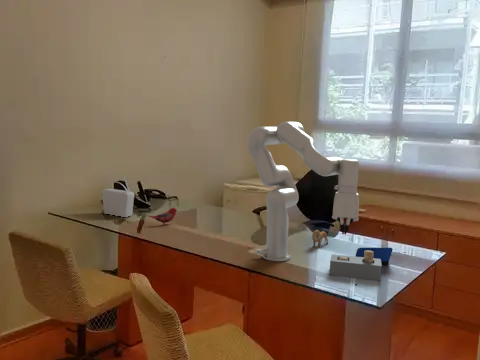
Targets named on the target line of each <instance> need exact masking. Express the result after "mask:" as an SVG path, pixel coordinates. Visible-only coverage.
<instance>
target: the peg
mask: <svg viewBox="0 0 480 360" xmlns="http://www.w3.org/2000/svg"><path fill="white" fill-rule="evenodd" d="M373 253H374V252H373V251H369V250H366V251H364V262H365V263H373Z"/></svg>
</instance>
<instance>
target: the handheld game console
mask: <svg viewBox="0 0 480 360" xmlns="http://www.w3.org/2000/svg"><path fill="white" fill-rule="evenodd" d="M356 249H357V250H356V253H355V257H364V251H366V250H369V251H373V252H374V253H373V258H376V259H381V265H382V266H388V265H389V263H390V259H391V256H392V253H393V250H394V249H393V247H358V248H356Z"/></svg>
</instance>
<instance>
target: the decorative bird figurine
mask: <svg viewBox="0 0 480 360" xmlns="http://www.w3.org/2000/svg"><path fill="white" fill-rule="evenodd" d="M177 212H178V210H177V208H176V207H171V208H170V209H168V210H166V211H165V212H162V213H159V214H157V215H147V216H146V217H149V218H152V219H155V220H156V221H157V222H160V223H162V224H161V226H169V225H171V223H169V222H171V221H172V220H173V219H174V217H175V215H176V213H177Z"/></svg>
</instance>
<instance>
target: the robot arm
mask: <svg viewBox="0 0 480 360" xmlns="http://www.w3.org/2000/svg"><path fill="white" fill-rule="evenodd" d="M246 141H247V143H246V144H247V149H248V151H249V154H250V156H251V158H252V160H253V163H254V165H255V167H256V171H257V173H258V176H259V178H260V181H261V183H262V185H264V187H267V188H273V187H276V188H274V189H271V190H270V191H269V192H268V193H267V195H266V197H265V205H266V213H267V214H266V216H267V217H266V243H265V244H266V246H264V247H263V248H261V249H260V248H258V249H257V248H256V249H255V254H260V255H262V258H263V259H264V260H267V261H271V262H286V261H287V262H288V261H289V260H291V256H292V255H291V254H289V253H288V242H289V221H290V220H289V219H290V218H289V215H288V209H289V208H292V207H295V206H296V205H297V204H298V202H299V198H300V197H299V196H300V195H299V192H298V189H297V186H296V183H295V181H294V179H293V175H292V173H291V172H290V170H289V169H288V168H287V167H286V166H285V165H283V164H276V162H275V161H274V158H273V155H272V153H271V152H270V150H269V149H268V148H267V146H274V145H282V144H286V145H287V146H289V147H290V149H292V150H293V151H295V152H296V153H297V154H298V155H299V156H300V158H301V159H302V161H303V162H304V164H305V165H306V166H307V167H308V168H309V169H311V170H312V171H313V172H314V173H316V174H317V175H319V176H322V177H329V176H336V175H338V181H337V182H338V183H337V185H334V190H336V192H335V195H334V197H333V198H334V199H333V207H332V216H331V218H332V219H333V220H335V221H336V220H337V221H338V223H339V224H340V233H341V235H345V236H347V233H349V226H350V224H352V223H353V222H358V221H359V220H360V219H359V218H360V217H359V212H360V197H359V196H360V195H359V193H358V181H359V166H360V162H359V160H358V159H354V158H343V157H339V156H329V157H328V156H327V157H326V156H325V155H323V154H321V152H319V151H318V150H317V149H316V148H315V147H314V139H313V138H312V137H311V136H310V135H308V134H307V133H306V132H305V128H304V126H303V125H302V124H301V123H300V122H298V121H283V122H281V123H279V124H278V125H273V126H269V125H268V126H267V125H265V126H262V125H261V126H258V127H255V128H252V130H251V131H250V133H249V134H248V137H247V140H246ZM344 219H346V222H344Z"/></svg>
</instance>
